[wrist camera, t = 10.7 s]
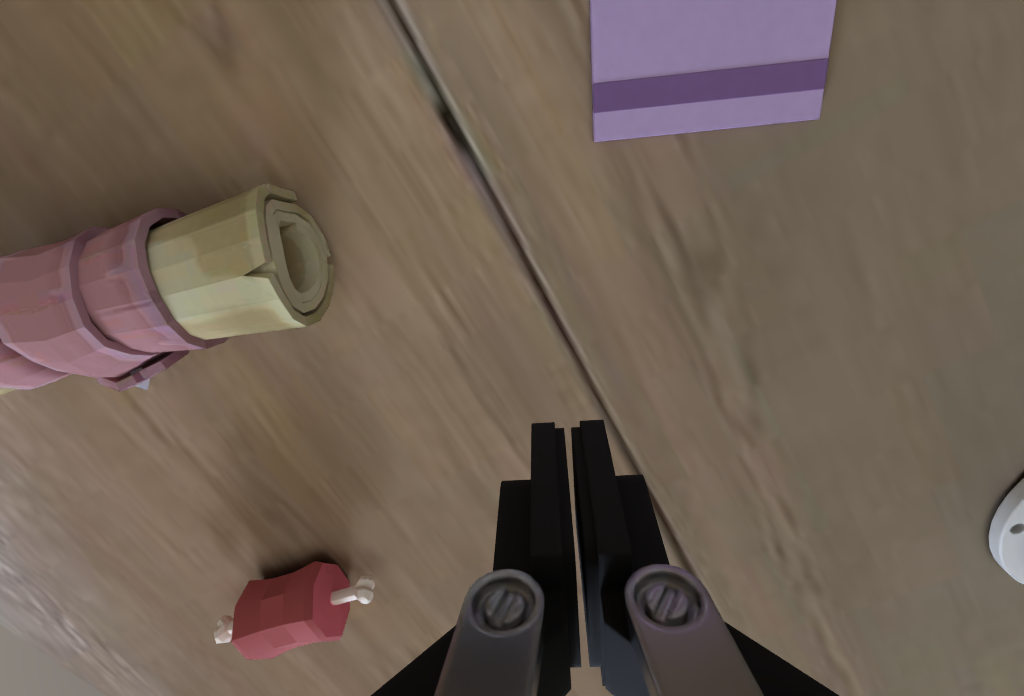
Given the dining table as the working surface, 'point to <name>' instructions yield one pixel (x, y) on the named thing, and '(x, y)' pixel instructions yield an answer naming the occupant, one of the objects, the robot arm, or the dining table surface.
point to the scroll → (160, 290)
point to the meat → (292, 611)
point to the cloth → (706, 64)
